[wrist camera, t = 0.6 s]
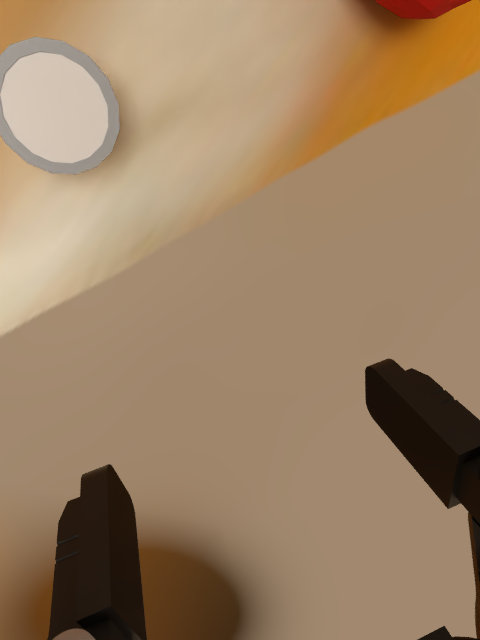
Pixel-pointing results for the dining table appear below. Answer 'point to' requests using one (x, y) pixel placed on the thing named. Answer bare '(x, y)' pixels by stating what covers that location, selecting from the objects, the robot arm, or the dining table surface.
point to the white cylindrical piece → (56, 106)
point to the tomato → (420, 7)
